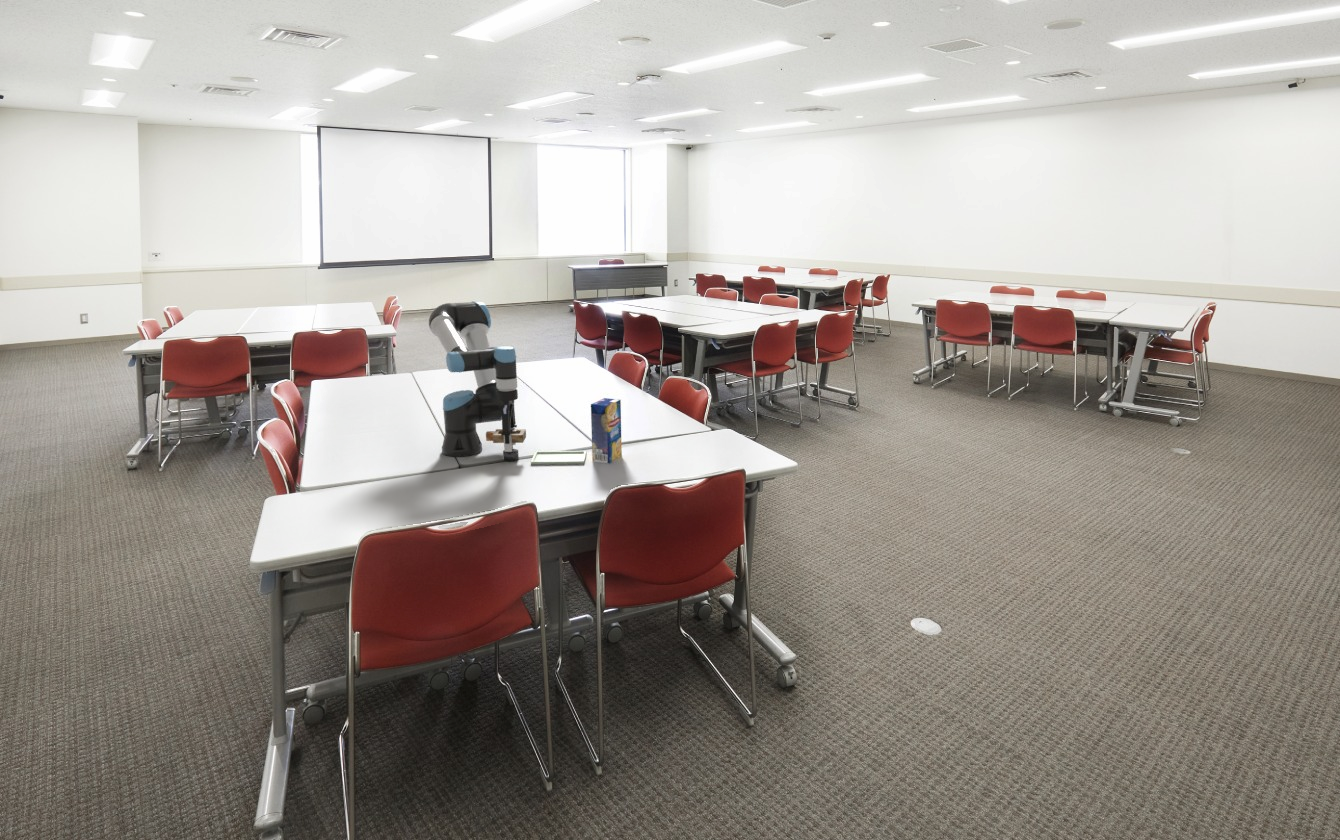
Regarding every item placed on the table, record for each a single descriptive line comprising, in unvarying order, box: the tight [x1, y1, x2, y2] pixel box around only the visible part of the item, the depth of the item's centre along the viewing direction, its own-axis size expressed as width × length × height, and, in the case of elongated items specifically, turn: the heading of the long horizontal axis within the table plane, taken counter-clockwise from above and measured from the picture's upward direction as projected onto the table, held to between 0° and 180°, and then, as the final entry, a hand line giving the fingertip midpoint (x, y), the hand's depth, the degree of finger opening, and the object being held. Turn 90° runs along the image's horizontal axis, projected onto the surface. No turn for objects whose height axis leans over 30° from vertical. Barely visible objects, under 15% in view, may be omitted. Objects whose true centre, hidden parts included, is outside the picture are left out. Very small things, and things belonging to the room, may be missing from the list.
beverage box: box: [590, 397, 623, 464], centre depth 280 cm, size 7×11×22 cm, turn 158°
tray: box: [530, 450, 587, 466], centre depth 281 cm, size 20×13×1 cm, turn 92°
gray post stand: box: [502, 430, 520, 463], centre depth 280 cm, size 6×6×12 cm
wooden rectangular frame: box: [485, 428, 527, 444], centre depth 279 cm, size 14×8×3 cm, turn 92°
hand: (510, 447), depth 280 cm, fingers closed on wooden rectangular frame, 8 cm apart
